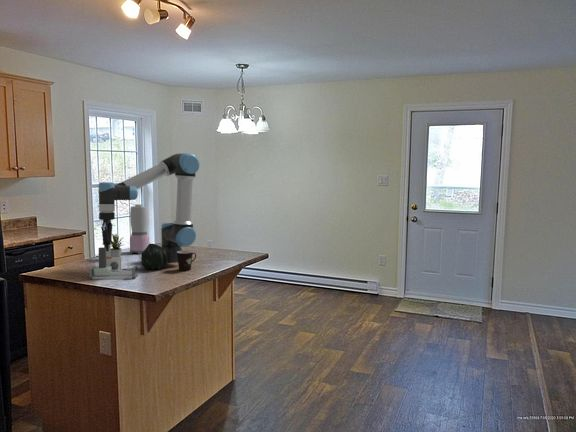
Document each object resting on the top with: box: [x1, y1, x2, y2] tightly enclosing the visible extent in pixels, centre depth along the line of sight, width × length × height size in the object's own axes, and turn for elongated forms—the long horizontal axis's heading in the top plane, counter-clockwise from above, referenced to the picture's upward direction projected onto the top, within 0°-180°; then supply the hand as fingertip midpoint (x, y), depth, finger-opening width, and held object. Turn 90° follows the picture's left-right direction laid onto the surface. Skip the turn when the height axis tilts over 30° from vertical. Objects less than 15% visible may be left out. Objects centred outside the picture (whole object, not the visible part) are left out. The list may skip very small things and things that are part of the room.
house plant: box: [110, 233, 123, 257], centre depth 270 cm, size 14×14×16 cm
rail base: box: [88, 265, 139, 280], centre depth 223 cm, size 22×7×5 cm, turn 98°
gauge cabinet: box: [106, 256, 122, 271], centre depth 232 cm, size 9×6×8 cm
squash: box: [140, 243, 169, 271], centre depth 246 cm, size 14×15×15 cm
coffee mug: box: [177, 250, 197, 272], centre depth 244 cm, size 12×9×10 cm
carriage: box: [94, 247, 112, 275], centre depth 221 cm, size 7×6×13 cm
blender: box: [129, 203, 150, 255], centre depth 292 cm, size 16×12×32 cm
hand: (107, 256), depth 231 cm, fingers closed
